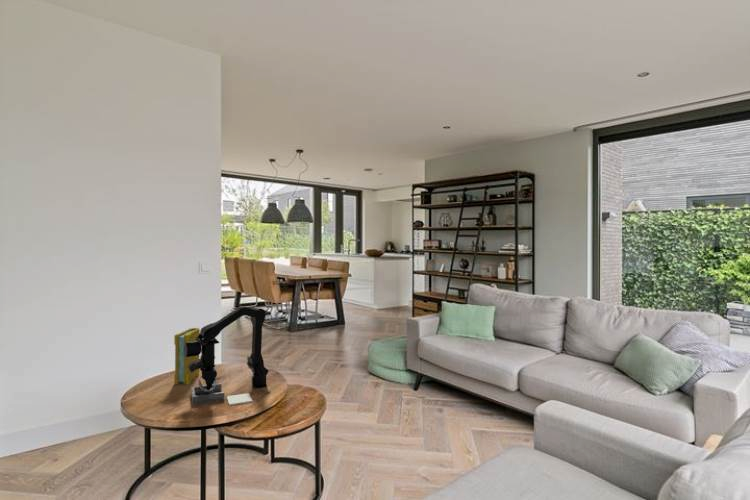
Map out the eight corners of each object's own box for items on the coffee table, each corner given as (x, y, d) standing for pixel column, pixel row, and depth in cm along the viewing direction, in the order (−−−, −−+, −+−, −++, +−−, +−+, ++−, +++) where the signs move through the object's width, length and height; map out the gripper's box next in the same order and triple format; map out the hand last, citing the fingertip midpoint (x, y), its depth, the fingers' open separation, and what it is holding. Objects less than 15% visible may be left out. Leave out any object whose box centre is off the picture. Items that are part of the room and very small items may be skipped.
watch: (215, 399, 189) (215, 375, 188) (197, 400, 187) (197, 376, 187) (217, 394, 194) (217, 371, 194) (199, 395, 193) (199, 372, 192)
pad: (248, 394, 195) (248, 393, 195) (252, 401, 186) (252, 400, 186) (226, 397, 191) (226, 396, 191) (229, 405, 182) (229, 404, 182)
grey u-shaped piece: (221, 390, 200) (221, 383, 200) (224, 400, 188) (224, 392, 188) (191, 394, 194) (191, 387, 194) (192, 404, 182) (192, 397, 182)
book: (187, 384, 207) (187, 335, 206) (174, 384, 207) (174, 335, 206) (201, 373, 224) (202, 328, 223) (189, 373, 224) (190, 327, 223)
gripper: (188, 350, 195) (188, 382, 195) (189, 361, 178) (189, 396, 179) (213, 348, 200) (212, 379, 200) (217, 358, 183) (216, 392, 184)
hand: (207, 386), depth 191 cm, fingers open, 9 cm apart
